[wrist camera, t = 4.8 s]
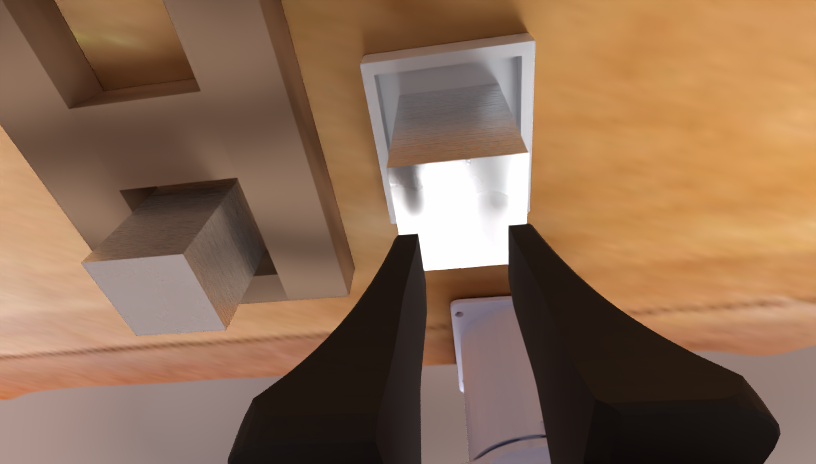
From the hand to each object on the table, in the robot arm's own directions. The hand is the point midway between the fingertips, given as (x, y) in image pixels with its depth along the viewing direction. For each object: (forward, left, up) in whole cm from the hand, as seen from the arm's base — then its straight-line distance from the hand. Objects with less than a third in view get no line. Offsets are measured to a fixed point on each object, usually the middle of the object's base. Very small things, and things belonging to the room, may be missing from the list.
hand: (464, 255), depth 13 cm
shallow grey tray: (0, 0, -9) cm, 9 cm away
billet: (0, 0, -9) cm, 9 cm away
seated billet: (-3, +13, -10) cm, 16 cm away
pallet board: (+2, +13, -9) cm, 16 cm away
